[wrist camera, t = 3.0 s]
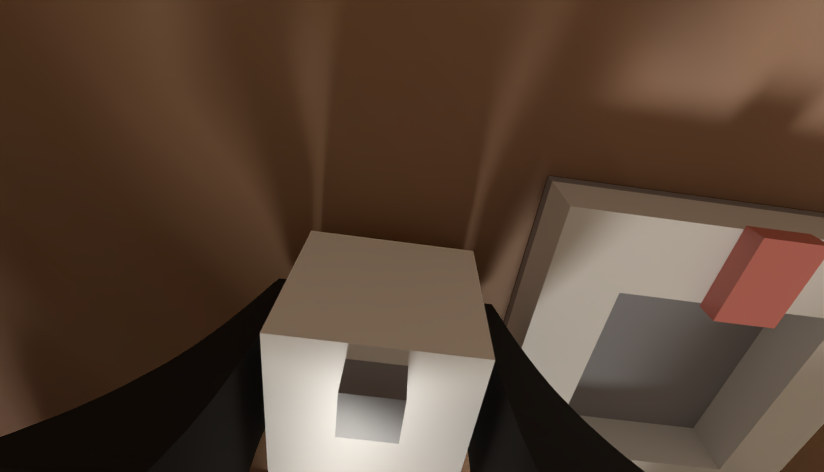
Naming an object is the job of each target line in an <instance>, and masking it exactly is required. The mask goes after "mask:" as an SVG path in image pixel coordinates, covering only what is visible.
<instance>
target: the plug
mask: <svg viewBox="0 0 824 472" xmlns="http://www.w3.org/2000/svg"><path fill="white" fill-rule="evenodd" d="M260 346H261V362H262V379H263V396H264V413H265V430H266V446H267V463H268V472H461V469H462V466H463V463H464V459H465V456H466V453H467V450H468V447H469V443H470V440H471V437H472V434H473V430H474V427H475V424H476V421H477V418H478V414H479V411H480V408H481V405H482V401H483V398H484V395H485V392H486V389H487V385H488V382H489V379H490V376H491V372H492V369H493V366H494V363H495V356H494V351H493V346H492V341H491V336H490V331H489V326H488V321H487V316H486V311H485V306H484V301H483V296H482V291H481V286H480V281H479V276H478V271H477V266H476V262H475V257H474V252H473V251H469V250H461V249H453V248H445V247H437V246H430V245H422V244H414V243H406V242H398V241H390V240H382V239H374V238H366V237H358V236H350V235H342V234H334V233H326V232H319V231H311V232H310V234H309V236H308V238H307V240H306V242H305V244H304V246H303V248H302V250H301V252H300V254H299V256H298V258H297V260H296V262H295V264H294V266H293V268H292V270H291V272H290V274H289V276H288V278H287V280H286V282H285V284H284V286H283V288H282V290H281V292H280V294H279V296H278V298H277V300H276V302H275V304H274V306H273V308H272V310H271V312H270V314H269V316H268V318H267V320H266V322H265V323H264V325H263V327H262V329H261V331H260Z"/></svg>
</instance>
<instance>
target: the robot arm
mask: <svg viewBox="0 0 824 472" xmlns="http://www.w3.org/2000/svg"><path fill="white" fill-rule="evenodd" d="M286 280H287V279H278V280H277V281H275V282H274V283H273V284H272V285H271V286H270V287H268V288H267V289H266V290H265V291H264V292H263V293H262V294H260V295H259V296H258V297H257V298H256V299H255V300H253V301H252V302H251V303H250V304H249V305H247V306H246V307H245V308H244V309H242V310H241V311H240V312H239V313H238V314H236V315H235V316H234V317H233V318H231V319H230V320H229V321H228V322H226V323H225V324H224V325H222V326H221V327H220V328H218V329H217V330H215V331H214V332H213V333H211V334H210V335H209V336H207V337H206V338H204V339H203V340H202V341H200V342H199V343H197V344H196V345H194V346H193V347H191V348H190V349H188V350H187V351H185V352H184V353H182V354H180V355H179V356H177V357H175V358H174V359H172V360H171V361H169V362H167V363H166V364H164V365H162V366H160V367H159V368H157V369H155V370H153V371H151V372H149V373H147V374H145V375H143V376H141V377H140V378H138V379H136V380H134V381H132V382H130V383H128V384H126V385H124V386H122V387H120V388H118V389H116V390H114V391H112V392H110V393H108V394H106V395H104V396H101V397H99V398H97V399H95V400H93V401H90V402H88V403H86V404H83V405H81V406H79V407H77V408H74V409H72V410H70V411H67V412H65V413H62V414H60V415H58V416H55V417H52V418H50V419H47V420H44V421H42V422H39V423H37V424H34V425H31V426H29V427H26V428H23V429H21V430H18V431H16V432H13V433H10V434H8V435H5V436H2V437H0V472H249V470H250V467H251V463H252V460H253V457H254V454H255V452H256V449H257V446H258V444H259V441H260V439H261V436H262V434H263V432H264V429H265V413H264V396H263V379H262V362H261V346H260V331H261V329H262V327H263V325H264V323H265V322H266V320H267V318H268V316H269V314H270V312H271V310H272V308H273V306H274V304H275V302H276V300H277V298H278V296H279V294H280V292H281V290H282V288H283V286H284V284H285V282H286ZM484 306H485V311H486V316H487V321H488V326H489V331H490V336H491V341H492V346H493V351H494V356H495V363H494V366H493V369H492V372H491V376H490V379H489V382H488V385H487V389H486V392H485V395H484V398H483V401H482V405H481V408H480V411H479V414H478V418H477V421H476V424H475V427H474V430H473V434H472V437H471V440H470V443H469V447H468V455H469V463H470V472H645V471H643V470H642V469H641V468H639V467H638V466H637V465H636V464H634V463H633V462H632V461H631V460H629V459H628V458H627V457H625V456H624V455H623V454H622V453H621V452H619V451H618V450H617V449H616V448H615V447H613V446H612V445H611V444H610V443H609V442H608V441H607V440H605V439H604V438H603V437H602V436H601V435H600V434H599V433H598V432H597V431H595V430H594V429H593V428H592V427H591V426H590V425H589V424H588V423H587V422H586V421H585V420H584V419H582V418H581V417H580V416H579V415H578V414H577V413H576V412H575V411H574V410H573V409H572V408H571V406H570V405H569V404H568V403H567V402H566V401H565V400H564V399H563V398H562V397H561V396H560V395H559V394H558V393H557V392H556V391H555V390H554V388H553V387H552V386H551V385H550V384H549V383H548V382H547V380H546V379H545V378H544V377H543V376H542V374H541V373H540V372H539V371H538V369H537V368H536V367H535V366H534V364H533V363H532V362H531V360H530V359H529V358H528V356H527V355H526V354H525V352H524V351H523V350H522V348H521V347H520V346H519V344H518V343H517V341H516V340H515V338H514V337H513V336H512V334H511V333H510V331H509V330H508V328H507V327H506V325H505V324H504V322H503V321H502V319H501V318H500V316H499V315H498V313H497V312H496V310H495V309H494V307H493V306H492V304H484Z"/></svg>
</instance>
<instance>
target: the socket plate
mask: <svg viewBox="0 0 824 472" xmlns="http://www.w3.org/2000/svg"><path fill="white" fill-rule="evenodd" d="M504 324H505V325H506V327H507V328H508V330H509V331H510V333H511V334H512V336H513V337H514V338H515V340H516V341H517V343H518V344H519V346H520V347H521V348H522V350H523V351H524V352H525V354H526V355H527V356H528V358H529V359H530V360H531V362H532V363H533V364H534V366H535V367H536V368H537V369H538V371H539V372H540V373H541V374H542V376H543V377H544V378H545V379H546V380H547V382H548V383H549V384H550V385H551V386H552V387H553V388H554V390H555V391H556V392H557V393H558V394H559V395H560V396H561V397H562V398H563V399H564V400H565V401H566V402H567V403H568V404H569V405H570V406H571V408H572V409H573V410H574V411H575V412H576V413H577V414H578V415H579V416H580V417H581V418H582V419H584V420H585V421H586V422H587V423H588V424H589V425H590V426H591V427H592V428H593V429H594V430H595V431H597V432H598V433H599V434H600V435H601V436H602V437H603V438H604V439H605V440H607V441H608V442H609V443H610V444H611V445H612V446H613V447H615V448H616V449H617V450H618V451H619V452H621V453H622V454H623V455H624V456H625V457H627V458H628V459H629V460H631V461H632V462H633V463H634V464H636V465H637V466H638V467H639V468H641V469H642V470H643V471H645V472H780V471H781V470H782V469H783V468H784V467H785V465H786V464H787V463H788V462H789V461H790V460H791V459H792V458H793V457H794V456H795V455H796V453H797V452H798V451H799V450H800V449H801V448H802V447H803V446H804V445H805V444H806V443H807V442H808V440H809V439H810V438H811V437H812V436H813V435H814V434H815V433H816V432H817V431H818V430H819V429H820V427H821V426H822V425H823V424H824V213H820V212H813V211H805V210H798V209H791V208H783V207H776V206H768V205H761V204H754V203H746V202H739V201H731V200H724V199H717V198H709V197H702V196H694V195H687V194H680V193H672V192H665V191H657V190H650V189H643V188H635V187H628V186H620V185H613V184H606V183H598V182H591V181H583V180H576V179H569V178H561V177H554V176H548V179H547V182H546V185H545V188H544V192H543V195H542V198H541V202H540V205H539V208H538V211H537V215H536V218H535V221H534V225H533V228H532V231H531V234H530V238H529V241H528V244H527V247H526V251H525V254H524V257H523V261H522V264H521V267H520V270H519V274H518V277H517V280H516V284H515V287H514V290H513V293H512V297H511V300H510V303H509V306H508V310H507V313H506V316H505V320H504Z"/></svg>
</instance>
